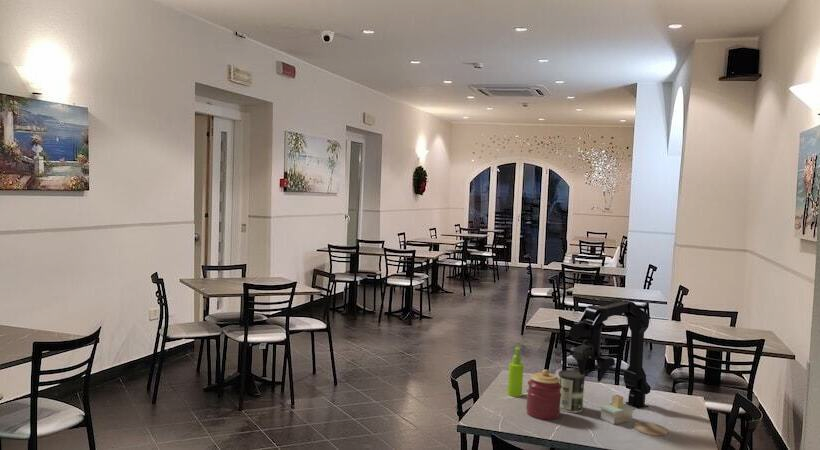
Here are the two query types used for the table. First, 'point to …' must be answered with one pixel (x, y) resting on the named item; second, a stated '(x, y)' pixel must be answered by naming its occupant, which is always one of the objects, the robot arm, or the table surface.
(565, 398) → the coffee can
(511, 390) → the soap dispenser
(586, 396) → the table surface
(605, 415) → the tin
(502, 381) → the table surface
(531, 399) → the canister
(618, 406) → the lid
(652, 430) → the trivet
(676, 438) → the table surface
